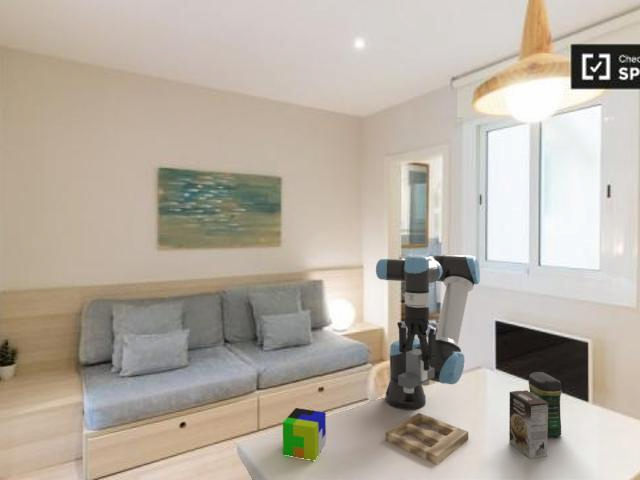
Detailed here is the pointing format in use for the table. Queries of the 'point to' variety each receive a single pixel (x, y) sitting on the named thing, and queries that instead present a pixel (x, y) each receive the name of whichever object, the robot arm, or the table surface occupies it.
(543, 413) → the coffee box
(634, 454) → the table surface
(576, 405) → the table surface
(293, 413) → the puzzle toy
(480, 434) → the table surface
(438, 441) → the keyhole board
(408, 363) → the grey stepped block
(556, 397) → the coffee jar
